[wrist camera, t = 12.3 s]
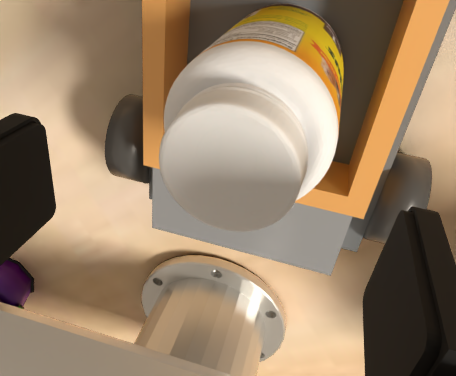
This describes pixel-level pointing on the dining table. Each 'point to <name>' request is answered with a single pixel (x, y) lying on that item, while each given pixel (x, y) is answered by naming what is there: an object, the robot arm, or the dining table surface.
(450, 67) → the dining table surface
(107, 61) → the dining table surface
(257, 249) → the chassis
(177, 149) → the supplement bottle
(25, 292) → the potion bottle
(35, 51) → the dining table surface
